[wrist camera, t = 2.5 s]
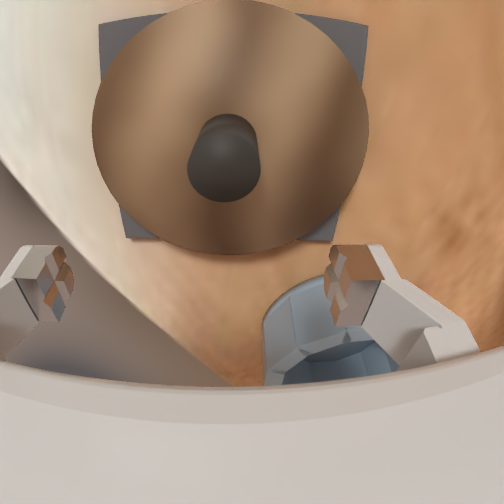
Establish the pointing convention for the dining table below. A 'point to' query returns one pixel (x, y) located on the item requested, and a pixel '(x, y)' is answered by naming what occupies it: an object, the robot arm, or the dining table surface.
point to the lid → (230, 127)
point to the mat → (340, 32)
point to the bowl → (315, 341)
